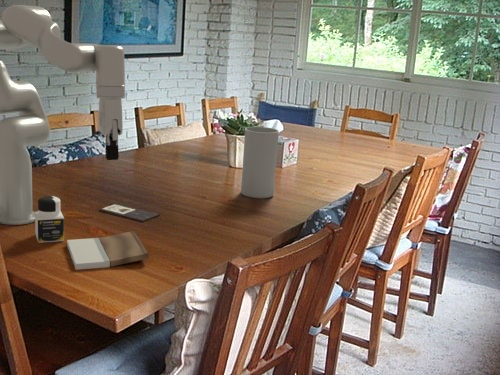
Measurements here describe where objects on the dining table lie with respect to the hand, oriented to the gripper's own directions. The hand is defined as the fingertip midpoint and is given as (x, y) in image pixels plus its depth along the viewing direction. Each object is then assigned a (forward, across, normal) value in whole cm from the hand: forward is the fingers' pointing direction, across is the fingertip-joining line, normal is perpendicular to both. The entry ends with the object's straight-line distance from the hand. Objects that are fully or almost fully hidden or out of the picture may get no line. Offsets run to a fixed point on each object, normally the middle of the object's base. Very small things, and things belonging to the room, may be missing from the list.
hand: (112, 159), depth 176 cm
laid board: (+25, +7, -8) cm, 27 cm away
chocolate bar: (+25, -28, +10) cm, 39 cm away
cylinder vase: (+25, -42, +63) cm, 80 cm away
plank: (+24, +7, +1) cm, 25 cm away
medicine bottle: (+24, -9, -17) cm, 31 cm away
